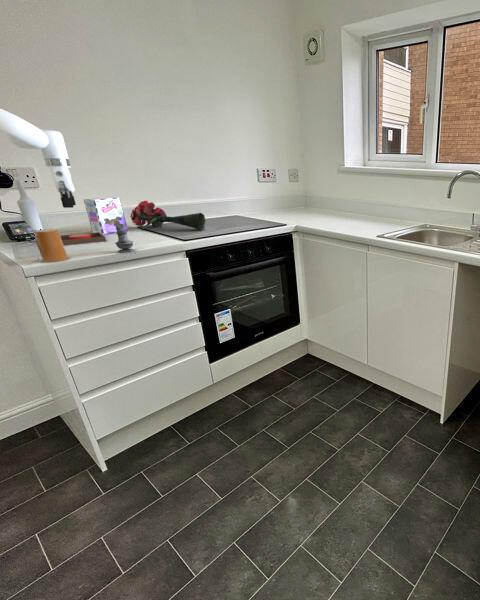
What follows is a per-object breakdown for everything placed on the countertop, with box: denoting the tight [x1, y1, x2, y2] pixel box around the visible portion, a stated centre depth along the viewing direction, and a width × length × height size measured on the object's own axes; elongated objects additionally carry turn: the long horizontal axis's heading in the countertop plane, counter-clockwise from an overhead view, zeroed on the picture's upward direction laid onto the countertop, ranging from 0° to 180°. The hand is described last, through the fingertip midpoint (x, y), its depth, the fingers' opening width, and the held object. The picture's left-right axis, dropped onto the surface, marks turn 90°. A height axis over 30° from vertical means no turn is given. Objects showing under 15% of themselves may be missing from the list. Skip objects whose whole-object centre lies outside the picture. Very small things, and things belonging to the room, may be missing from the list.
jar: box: [34, 228, 69, 263], centre depth 124 cm, size 7×7×11 cm
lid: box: [69, 233, 91, 240], centre depth 154 cm, size 7×7×2 cm
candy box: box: [83, 196, 128, 236], centre depth 171 cm, size 14×6×16 cm, turn 171°
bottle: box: [14, 179, 44, 243], centre depth 148 cm, size 5×5×25 cm
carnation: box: [130, 200, 206, 231], centre depth 186 cm, size 16×18×35 cm
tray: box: [60, 232, 107, 246], centre depth 154 cm, size 15×13×2 cm
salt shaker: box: [114, 222, 135, 254], centre depth 139 cm, size 6×6×12 cm
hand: (69, 206), depth 149 cm, fingers open, 9 cm apart
